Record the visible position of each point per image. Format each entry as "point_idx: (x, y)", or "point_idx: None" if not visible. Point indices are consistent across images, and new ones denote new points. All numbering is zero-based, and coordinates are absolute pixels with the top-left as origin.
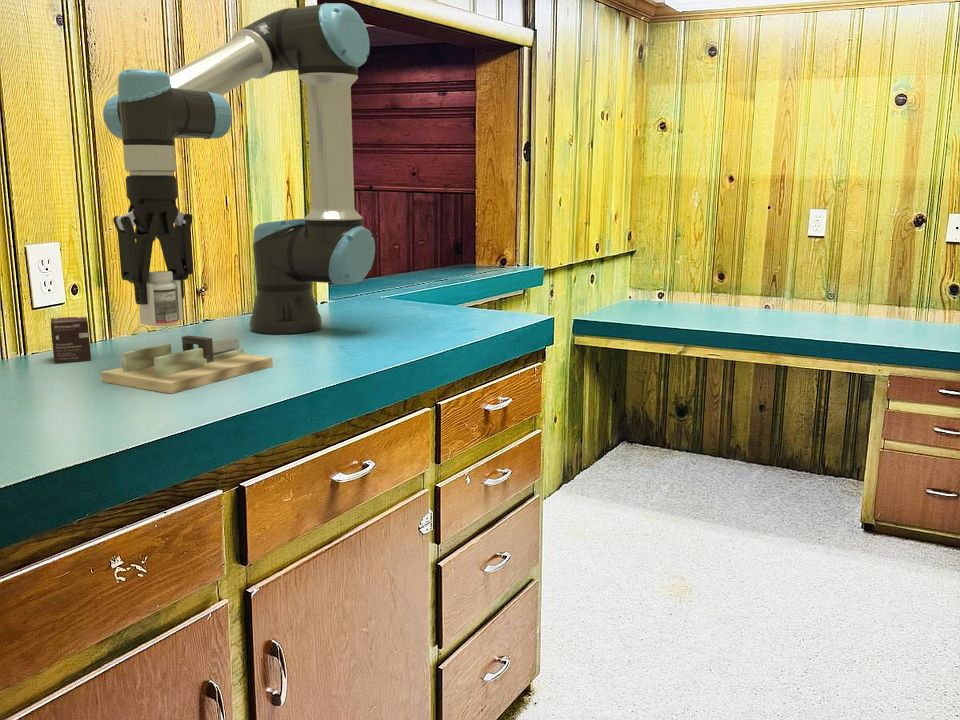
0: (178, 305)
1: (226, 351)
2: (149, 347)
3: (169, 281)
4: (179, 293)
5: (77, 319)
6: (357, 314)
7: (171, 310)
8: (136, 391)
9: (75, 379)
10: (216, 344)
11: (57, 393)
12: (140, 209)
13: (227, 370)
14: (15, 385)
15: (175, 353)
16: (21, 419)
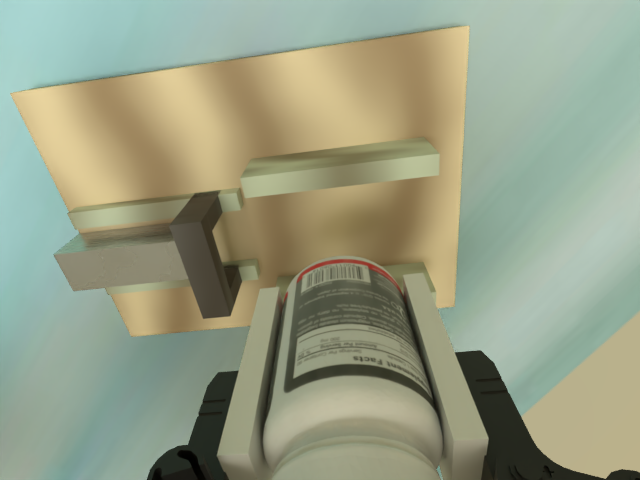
0: (270, 332)
1: (121, 233)
2: None
3: (324, 441)
4: (249, 380)
5: None
6: None
7: (341, 290)
8: (480, 144)
9: (458, 346)
10: (146, 243)
11: (573, 272)
12: None
13: (219, 62)
14: (548, 380)
15: (349, 181)
16: None
